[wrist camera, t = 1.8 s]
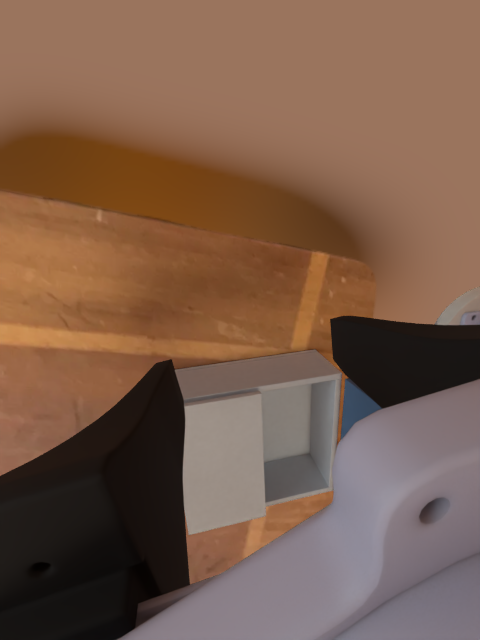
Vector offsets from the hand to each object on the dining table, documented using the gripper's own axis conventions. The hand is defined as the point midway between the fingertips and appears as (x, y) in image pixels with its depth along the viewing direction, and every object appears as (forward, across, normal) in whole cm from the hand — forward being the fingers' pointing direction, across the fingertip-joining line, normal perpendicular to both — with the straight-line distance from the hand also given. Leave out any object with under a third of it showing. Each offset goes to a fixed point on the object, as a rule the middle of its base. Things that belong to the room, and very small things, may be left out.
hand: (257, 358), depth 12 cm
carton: (+10, 0, +12) cm, 16 cm away
